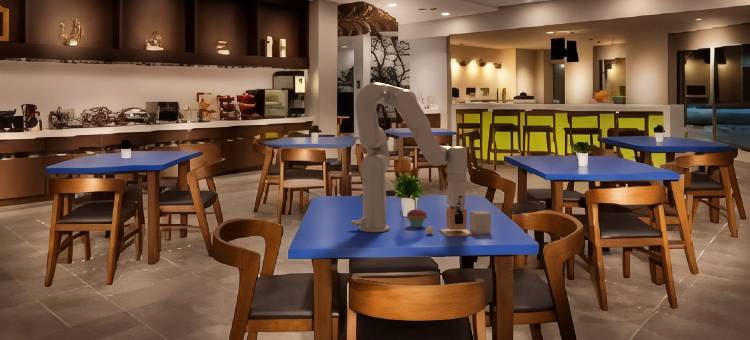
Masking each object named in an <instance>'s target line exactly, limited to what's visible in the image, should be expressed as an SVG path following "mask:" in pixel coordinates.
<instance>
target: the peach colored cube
mask: <svg viewBox="0 0 750 340" xmlns="http://www.w3.org/2000/svg"><path fill="white" fill-rule="evenodd" d="M458 209H459V208H458ZM467 213H468V210H467V208H465V207H464V209H463V224H455V214H456V209H455V207H450V206H446V212H445V214H446V216H445V219H446V220H445V221H446V222H445V227H446V228H447V229H450V230H459V229H467V227H468V226H467V225H468V224H467V220H468V219H467V215H468V214H467Z"/></svg>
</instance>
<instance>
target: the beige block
mask: <svg viewBox="0 0 750 340" xmlns="http://www.w3.org/2000/svg"><path fill="white" fill-rule="evenodd" d="M491 220H492V213H491V212H490V211H489V212H488V211H486V210H473V211H469V231H470V232H472V233H474V235H485V234H491V231H492V226H491V225H492V221H491Z"/></svg>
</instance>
